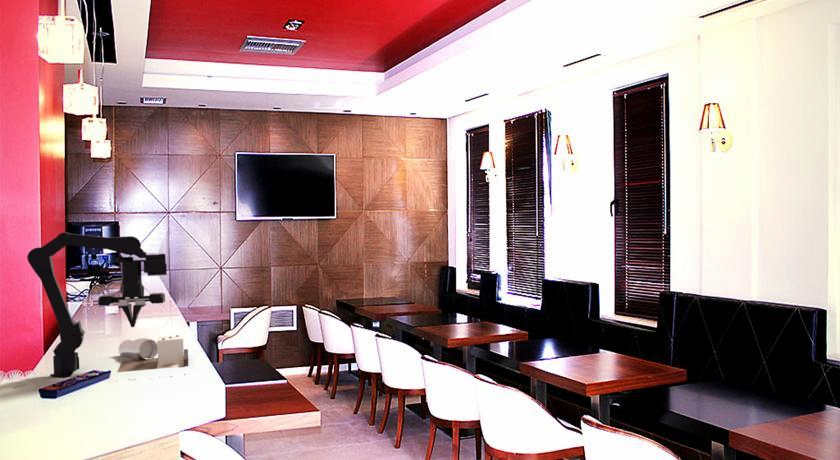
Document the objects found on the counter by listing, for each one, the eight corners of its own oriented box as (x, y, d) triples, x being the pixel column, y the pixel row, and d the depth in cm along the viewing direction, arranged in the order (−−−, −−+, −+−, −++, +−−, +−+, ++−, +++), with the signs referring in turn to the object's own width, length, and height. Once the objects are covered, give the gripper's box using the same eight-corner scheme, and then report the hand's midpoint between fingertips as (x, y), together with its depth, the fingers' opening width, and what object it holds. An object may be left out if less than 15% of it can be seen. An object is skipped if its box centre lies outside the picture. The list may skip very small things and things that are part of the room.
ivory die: (158, 365, 218) (157, 339, 218) (158, 360, 225) (158, 335, 225) (183, 362, 220) (183, 337, 220) (183, 358, 227) (183, 333, 227)
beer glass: (141, 351, 241) (163, 351, 231) (124, 363, 236) (145, 364, 226) (130, 334, 239) (152, 333, 229) (113, 346, 234) (134, 347, 224)
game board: (117, 376, 209) (116, 365, 209) (122, 364, 227) (121, 354, 226) (188, 369, 216) (188, 359, 216) (188, 358, 233) (187, 349, 233)
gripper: (166, 273, 230) (168, 321, 230) (105, 275, 226) (106, 324, 226) (162, 276, 219) (163, 326, 219) (97, 278, 215) (98, 330, 215)
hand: (132, 327), depth 220 cm, fingers closed
